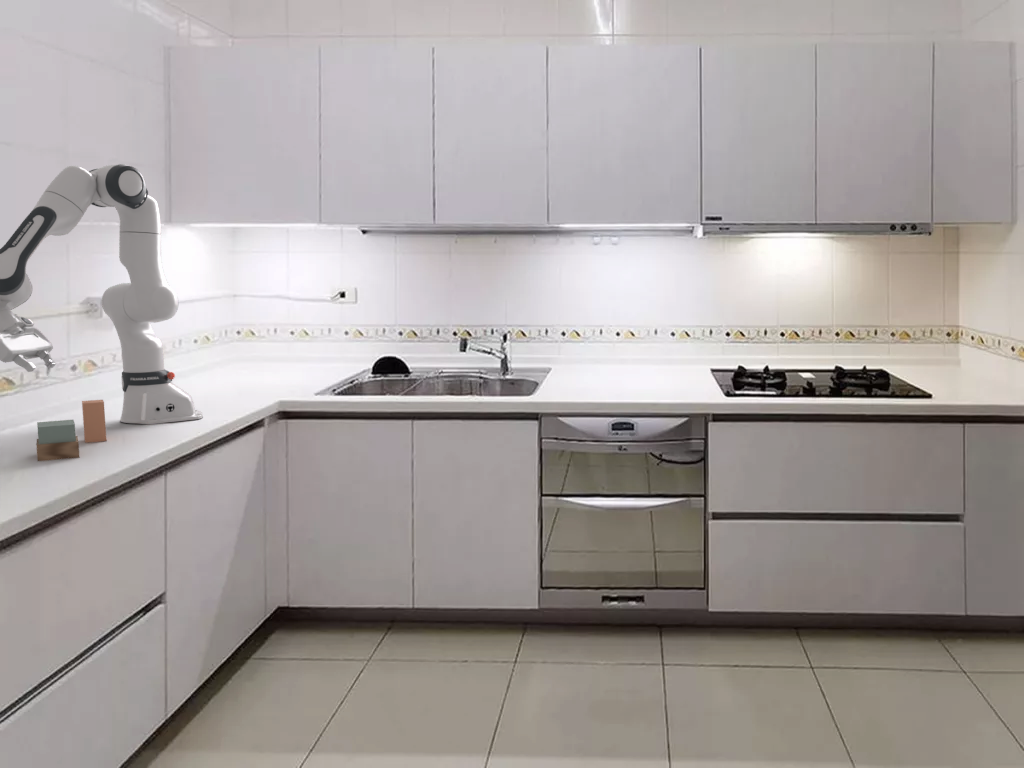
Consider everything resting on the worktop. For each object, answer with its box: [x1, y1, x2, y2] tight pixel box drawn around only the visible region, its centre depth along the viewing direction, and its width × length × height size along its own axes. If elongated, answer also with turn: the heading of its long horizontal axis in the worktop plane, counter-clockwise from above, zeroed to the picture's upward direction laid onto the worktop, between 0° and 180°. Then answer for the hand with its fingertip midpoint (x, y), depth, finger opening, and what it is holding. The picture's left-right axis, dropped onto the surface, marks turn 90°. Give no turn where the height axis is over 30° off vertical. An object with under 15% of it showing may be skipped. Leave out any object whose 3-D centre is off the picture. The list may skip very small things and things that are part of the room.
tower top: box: [36, 419, 77, 444], centre depth 249 cm, size 8×8×4 cm
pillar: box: [81, 399, 107, 444], centre depth 268 cm, size 5×5×10 cm
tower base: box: [36, 435, 80, 462], centre depth 249 cm, size 9×9×4 cm
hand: (42, 368), depth 267 cm, fingers open, 8 cm apart
